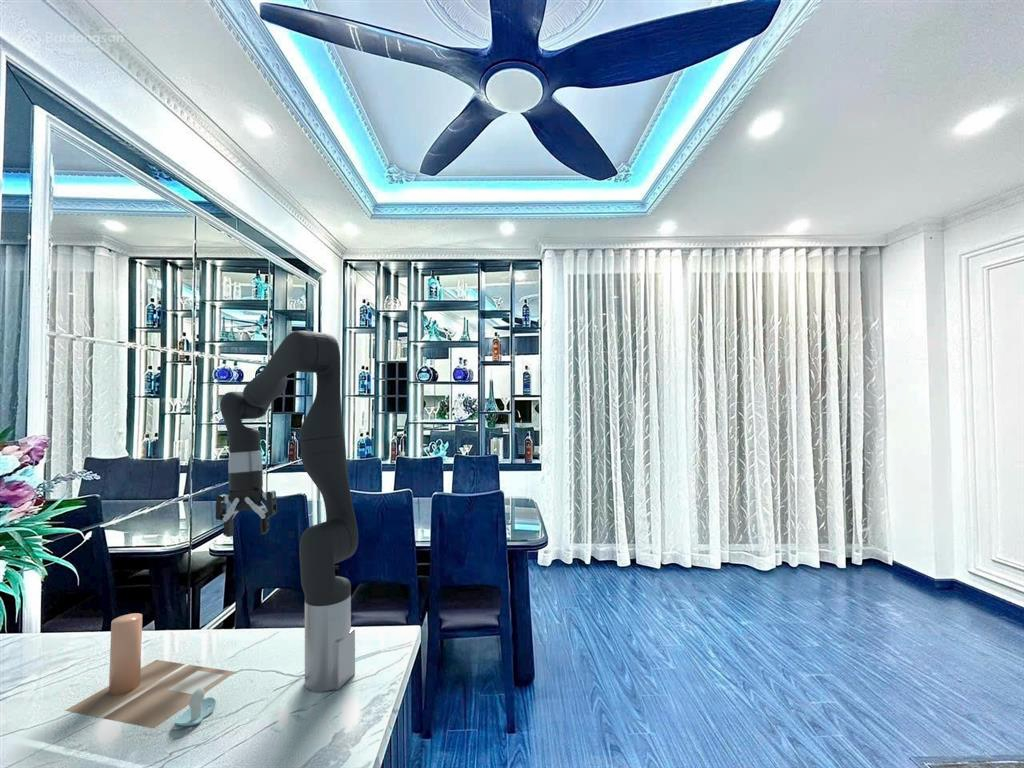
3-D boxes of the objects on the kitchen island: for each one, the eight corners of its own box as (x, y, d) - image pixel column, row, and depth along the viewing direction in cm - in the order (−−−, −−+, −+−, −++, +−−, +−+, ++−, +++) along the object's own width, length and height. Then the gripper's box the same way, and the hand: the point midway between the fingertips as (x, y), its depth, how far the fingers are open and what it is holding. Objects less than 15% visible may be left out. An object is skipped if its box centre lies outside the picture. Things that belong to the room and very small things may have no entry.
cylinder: (146, 682, 98) (148, 614, 99) (120, 697, 93) (122, 625, 94) (128, 678, 99) (131, 612, 100) (102, 692, 95) (105, 622, 95)
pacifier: (159, 736, 83) (190, 737, 83) (159, 700, 84) (190, 701, 83) (191, 709, 91) (220, 710, 90) (191, 676, 91) (219, 676, 90)
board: (235, 674, 101) (235, 671, 102) (153, 731, 84) (154, 728, 84) (156, 662, 107) (156, 659, 107) (64, 713, 89) (64, 710, 89)
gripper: (208, 473, 115) (209, 540, 113) (266, 468, 115) (267, 536, 113) (226, 470, 122) (227, 534, 121) (281, 466, 122) (282, 529, 121)
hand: (247, 534), depth 117 cm, fingers open, 8 cm apart
